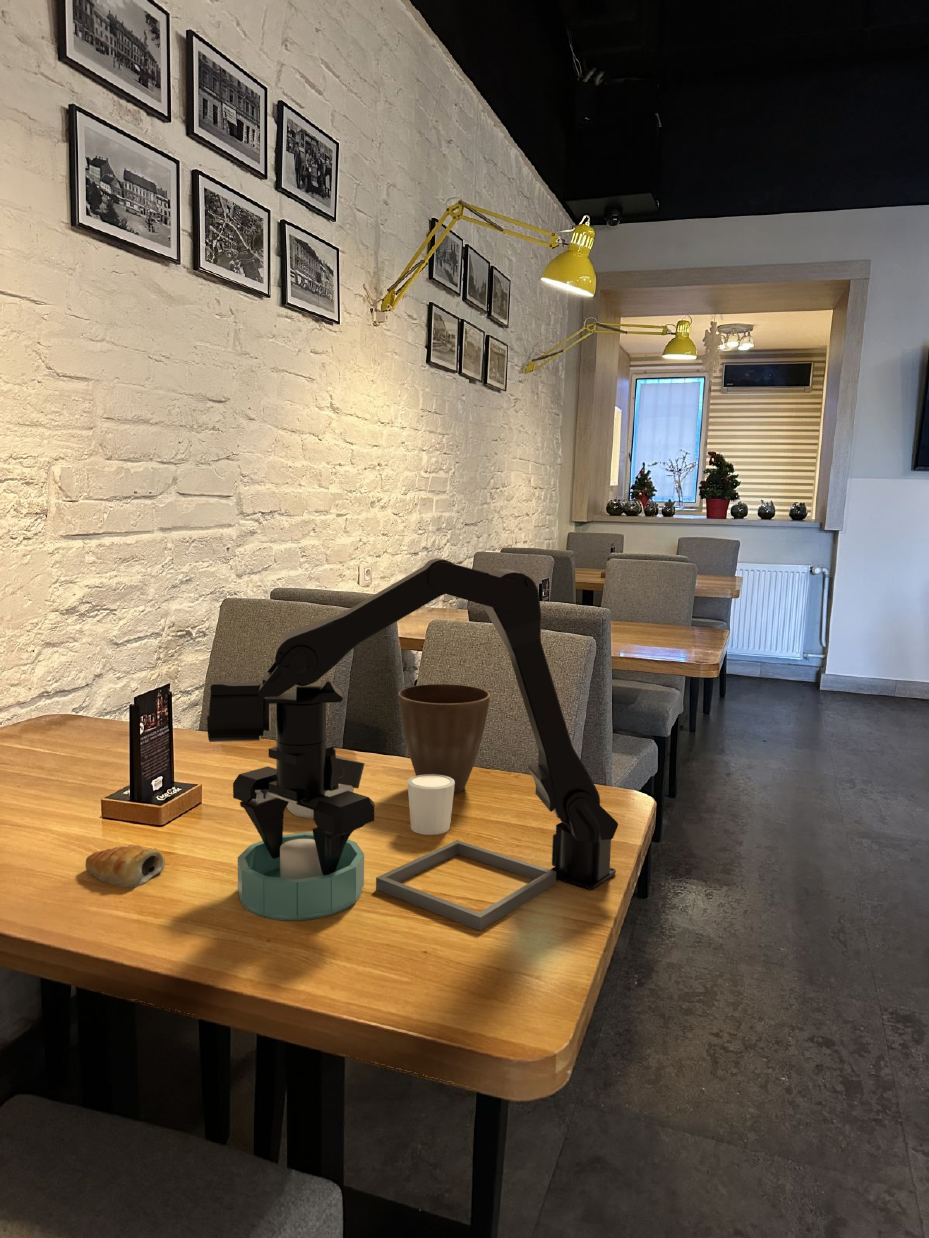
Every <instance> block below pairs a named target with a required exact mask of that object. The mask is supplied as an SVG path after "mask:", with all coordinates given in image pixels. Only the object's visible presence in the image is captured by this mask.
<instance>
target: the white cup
mask: <svg viewBox="0 0 929 1238" xmlns="http://www.w3.org/2000/svg"><path fill="white" fill-rule="evenodd" d="M406 782H407V795H408V804H409V819H410V820H409V821H410V830H411V831H413V832H414V833H417V834H419V835H426V836H432V835H433V836H434V835H436V836H437V835H440V834H441V835H442V834H444V833H447V832H449V830H450V827H451V819H452V813H453V812H452V811H453V802H454V794H455V793H454V786H455V781H454V779H452V778H450V777H447V776H444V775H436V774H424V775H417V776H416V775H414V776H411V777H409V778H408V779H407V780H406Z"/></svg>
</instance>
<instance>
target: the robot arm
mask: <svg viewBox="0 0 929 1238" xmlns="http://www.w3.org/2000/svg"><path fill="white" fill-rule="evenodd" d="M444 595H447V596H448V595H449V596H452V597H455V598H458V599H462V600H466V601H469V602H473V603H476V604H479V605H482V606H483V608H484V610H485V612H486V614H487V616H488V617H489V620H490V621H491V624H492V625H493V627H494V629H495V630H496V632H497V633H498V635H499V637H500V638H501V640H502V641H503V643H504V645H505V647H506V649H507V652H508V656H509V658H510V662H511V665H512V668H513V671H514V672H513V673H514V675H515V679H516V682H517V685H518V687H519V691H520V694H521V695H520V696H521V698H522V701H523V704H524V707H525V708H524V709H525V711H526V714H527V717H528V721H529V723H530V727H531V730H532V733H533V737H534V740H535V743H536V746H537V750H538V758H537V759H538V760H537V764H534V765H529V766H528V770H529V774H531V776H532V778H533V781H534V783H535V795H536V796H537V798H538V799H539V800H540V801H541V802H542V804H543V805H544V806H545V808H547V810H548V811H549V812H551V813H552V812H553V813H554V814H555V816H556V818H557V819H559V820H560V821H561V822H559V823H557V824H555V833H554V834H553V835H552V843H551V844H552V845H551V846H552V848H551V866H553V867H552V868H551V869H549V870H552V871H555V872H556V880H561V881H564V882H567V883H569V884H572V885H577V886H579V887H582V888H585V889H587V890H588V889H589V890H592V889H595V888H597V887H598V886H599V885H601V884H602V883H604V882H605V881H607V880H608V879H611V877H613V876H614V875H615V874H617V873H616V871H617V870H616V869H615V868H612V867H611V854H612V853H611V851H612V850H611V849H612V840H613V839H614V837H615V834H616V832H617V830H618V829H617V828H618V826H619V823H618V821H617V820H615V818H613V816H612V815H610V814H609V813H608V811H607V810H605V808H603V806H602V805H601V796H600V793H599V791H598V789H597V787H596V785H595V783H594V781H593V780H592V777H591V775H590V774H589V772H588V770H587V768H586V767H585V765H584V764H583V762H582V759H581V758H580V757H579V755H578V754H577V751H576V750H575V748H574V746H573V743H572V740H571V737H570V733H569V730H568V727H567V724H566V721H565V716H564V713H563V710H562V707H561V704H560V700H559V697H558V693H557V691H556V687H555V684H554V680H553V677H552V673H551V671H550V668H549V664H548V660H547V657H546V654H545V651H544V647H543V645H542V638H541V637H542V611H541V604H540V603H541V601H540V593H539V589H538V587H537V585H536V583H535V581H534V580H533V579H532V578H531V577H529V576H528V575H527V574H524V573H521V572H518V571H515V570H511V569H505V568H500V569H495V570H494V571H492V572H489V573H488V572H485V571H481V570H477V569H474V568H470V567H467V566H463V565H460V564H455V563H453V562H452V561H451V560H447V559H445V558H441V557H439V558H438V557H437V558H432V559H430V560H428V561H427V562H426V563H425V564H424V565H423V566H422V567H420V568H418V569H417V570H415V571H413V572H411V573H410V574H408V575H406V576H403V578H401V579H399V580H397V581H396V582H394V583H392V584H391V585H389V586H387V587H386V588H384V589H382V590H381V591H378V592H377V593H375V594H373V595H372V596H370V597H368V598H367V599H365V600H363V601H360V603H358V604H356V605H354V606H352V607H350V608H349V609H347V610H346V611H344V612H342V613H340V614H337V615H334V616H330V617H328V618H324V619H320V620H317V621H314V622H312V623H311V622H310V623H308V624H306V625H304V626H301V627H298V628H294V629H293V630H291V631H288V632H287V633H285V635H284V636H282V637H281V639H280V640H279V642H278V644H277V648H276V653H275V657H274V662H273V664H272V665H271V666H270V667H269V668H268V670H267V671H264V672H263V676H262V677H261V680H260V682H257V681H256V682H231V681H225V680H224V681H223V680H216V681H215V680H214V681H213V682H212V683H211V685H210V697H209V708H208V711H209V712H208V714H207V716H206V718H207V719H206V723H207V724H206V725H207V726H206V727H207V737H208V738H207V739H208V742H209V743H221V742H222V743H224V742H225V743H226V742H227V743H229V742H254V741H255V742H259V741H261V737H263V736H265V732H266V733H267V732H268V733H270V732H271V715H272V713H271V711H272V710H271V705H273V704H274V705H275V721H276V722H275V726H276V727H275V728H276V729H275V733H276V735H275V736H276V737H275V738H276V740H275V741H276V742H275V743H276V745H275V746H273V747H270V748H268V758H270V759H274V760H275V761H276V768H275V767H272V766H263V767H259V768H256V769H252V770H249V771H245V772H242V773H239V774H238V775H237V776H236V778H235V780H234V781H233V782H232V793H233V794H232V798H233V799H235V800H238V801H239V806H240V807H241V808H243V809H244V811H245V812H246V814H247V816H248V817H249V819H250V820H251V822H252V823H253V825H254V827H255V829H256V830H257V832H258V834H259V836H260V838H261V841H263V842H264V844H265V846H266V848H267V850H268V852H269V853H270V855H271V857H272V858H273V859H276V858H278V857H280V846H281V845H282V840H283V835H284V816H285V815H284V814H285V810H286V808H287V805H288V803H289V802H291V803H294V804H297V805H300V806H303V807H306V808H309V809H312V810H313V818H312V820H313V821H314V824H315V825H316V827H314V828H312V833H313V835H314V840H315V844H316V849H317V853H318V858H319V862H320V867H321V871H322V874H323V876H324V875H329V874H331V873H334V872H335V871H336V868H337V865H338V863H339V860H340V857H341V854H342V852H343V849H344V847H345V844H346V842H347V840H349V838H350V836H351V835H352V834H353V833H354V831H356V830H358V829H360V828H363V827H364V826H365V825H368V824H371V823H373V822H375V809H376V808H375V802H374V801H373V800H372V799H371V798H370V796H367V795H364V794H359V793H356V792H354V791H353V792H350V791H346V792H343V793H340V794H337V795H334V796H331V797H329V796H325V791H328V790H329V791H333V790H336V789H339V784H343V785H349V786H352V787H353V788H354V789H359V787H360V783H361V779H362V775H363V772H364V771H363V770H364V767H365V762H362V761H357V760H354V759H350V758H346V757H342V756H338V755H337V753H336V749H335V746H334V745H330V744H327V703H328V704H329V703H330V704H331V703H342V702H343V700H344V699H343V698H344V697H343V693H342V691H341V690H340V689H339V688H337V687H336V686H335V685H334V683H332V680H331V678H326V679H325V680H324V682H322V683H321V684H320V685H312V684H314V683H316V682H317V681H319V680H320V679H321V678H322V677H324V676H325V675H326V674H327V673H329V672H330V670H332V669H333V668H335V666H337V665H338V664H339V662H341V661H342V660H343V659H344V658H345V657H346V656H347V655H348V654H349V653H350V652H351V651H352V650H353V649H354V648H355V647H357V646H358V645H359V644H361V643H362V642H364V641H366V640H367V639H369V638H371V637H372V636H374V635H376V634H378V633H380V632H381V631H383V630H385V629H386V628H388V627H389V626H392V625H393V624H395V623H396V622H398V621H400V620H402V619H403V618H405V617H407V616H408V615H410V614H412V613H413V612H415V611H417V610H419V609H421V608H422V607H424V606H426V605H428V604H429V603H431V602H433V601H434V600H436V599H438V598H439V597H441V596H444ZM295 686H296V689H295V690H296V691H294V692H293V691H292V692H287V691H289V690H291V688H293V687H295Z"/></svg>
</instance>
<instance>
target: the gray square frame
mask: <svg viewBox="0 0 929 1238" xmlns="http://www.w3.org/2000/svg"><path fill="white" fill-rule="evenodd" d="M457 855H459V856H462V857H465V858H468V859H472V860H473V861H474V860H475V861H478V862H481V863H483V864H486V865H489V866H493V867H495V868H499V869H501V870H505V871H506V872H507V871H508V872H509V873H510V872H511V873H514V874H516V875H520V876H522V877H525V878H529V879H531V880H532V881H530V882H529V883H527V884H524V886H522V887H520V888H518V889H517V890H515V891H513V892H511V893H510V894H508V895H506V896H505V897H503V898H501V899H500V900H498V901H496V902H495V903H493V904H491V905H490V906H488V907H486V908H484V909H483V910H481V911H475V910H473V909H470V908H468V907H465V906H462V905H460V904H457V903H454V902H452V901H449V900H446V899H444V898H441V897H439V896H436V895H433V894H431V893H427V892H426V891H423V890H420V889H418V888H415V887H412V886H410V885H408V884H404V883H402V882H403V881H405V880H407V879H410V878H411V877H413V876H415V875H417V874H419V873H422V872H423V871H427V870H428V869H430V868H432V867H434V866H436V865H438V864H441V863H442V862H444V861H446V860H448V859H451V858H453V857H455V856H457ZM556 884H557V878H556V872H555V871H552V870H550V869H549V868H546V867H543V866H540V865H536V864H533V863H529V862H527V861H525V860H520V859H518V858H514V857H512V856H508V855H505V854H502V853H498V852H496V851H492V850H490V849H486V848H483V847H480V846H477V845H473V844H470V843H468V842H464V841H461V840H457V839H456V840H455V841H451V842H450V843H448V844H447V843H446V844H445V845H443V846H441V847H438V848H437V849H434V850H433V851H430V852H429V853H426V854H424V855H422V856H419V857H417V858H416V859H414V860H410V861H408V862H407V863H404V864H402V865H400V866H398V867H396V868H394V869H391V870H390V871H387V872H385V873H382V874H380V875H379V876H377V877H375V890H377V892H378V891H379V892H381V893H384V894H386V895H389V896H391V897H394V898H396V899H399V900H402V901H404V902H407V903H409V904H412V905H414V906H417V907H420V908H422V909H424V910H427V911H429V912H431V913H433V914H434V913H435V914H437V915H439V916H442V917H445V918H447V919H449V920H453V921H455V922H458V923H460V924H462V925H465V926H466V927H467V926H468V927H469V928H472V929H475V930H477V931H482V930H483V929H485V928H487V927H488V926H491V925H492V924H493V923H495V922H497V921H498V920H499V919H501V918H503V917H504V916H506V915H508V914H509V913H511V912H512V911H514V910H516V909H517V908H519V907H521V906H522V905H524V904H526V903H527V902H529V901H530V900H532V899H533V898H536V897H537V896H538V895H540V894H541V893H543V892H544V891H546V890H548V889H550V888H551V887H553V886H554V885H556Z"/></svg>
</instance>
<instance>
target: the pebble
mask: <svg viewBox="0 0 929 1238" xmlns="http://www.w3.org/2000/svg"><path fill="white" fill-rule="evenodd" d="M317 876H323V874H322V871H321V867H320V862H319V858H318V853H317V849H316V844H315V840H313V839H295V840H291V841H288V842H285V843H284V844H282V845H281V846H280V878H289V879H303V878H310V877H317Z"/></svg>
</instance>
